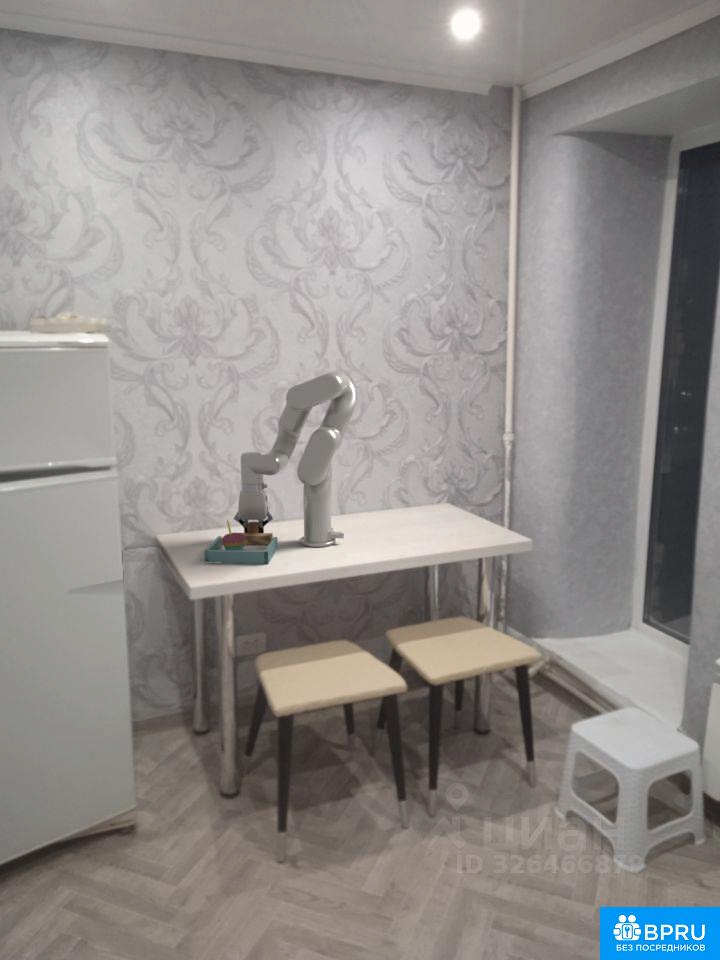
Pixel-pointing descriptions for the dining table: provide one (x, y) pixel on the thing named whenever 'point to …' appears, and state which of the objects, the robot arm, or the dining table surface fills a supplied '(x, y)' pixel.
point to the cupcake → (233, 540)
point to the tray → (239, 554)
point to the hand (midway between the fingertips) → (254, 537)
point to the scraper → (257, 535)
